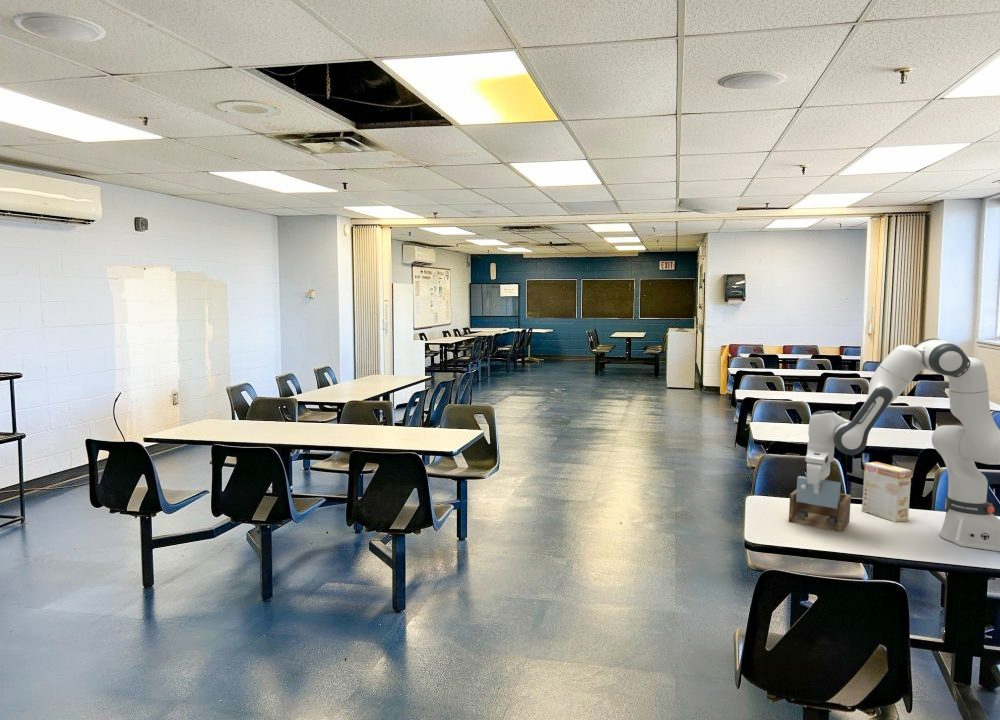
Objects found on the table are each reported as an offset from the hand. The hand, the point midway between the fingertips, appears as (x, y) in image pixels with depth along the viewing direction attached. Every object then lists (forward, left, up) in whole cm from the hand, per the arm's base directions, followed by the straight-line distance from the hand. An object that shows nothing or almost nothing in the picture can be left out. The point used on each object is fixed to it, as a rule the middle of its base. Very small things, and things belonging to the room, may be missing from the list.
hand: (817, 491), depth 249 cm
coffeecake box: (-18, -29, -13) cm, 37 cm away
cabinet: (0, -4, -13) cm, 13 cm away
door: (0, 0, -5) cm, 5 cm away
